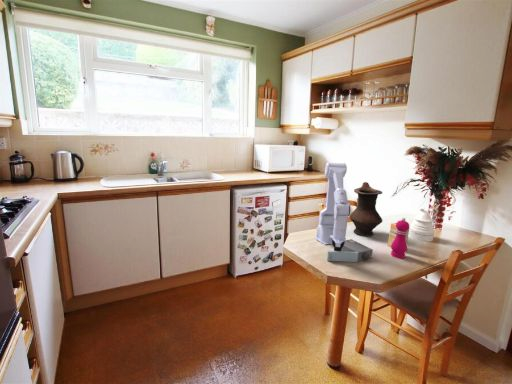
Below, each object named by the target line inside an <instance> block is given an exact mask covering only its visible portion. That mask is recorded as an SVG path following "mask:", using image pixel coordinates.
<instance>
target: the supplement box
mask: <svg viewBox="0 0 512 384" xmlns="http://www.w3.org/2000/svg"><path fill="white" fill-rule="evenodd" d="M396 223H397V222H391V224H390V229H389V234H388V241H387V247H390V248H391V245H392V242H393V241H394V240H395V238H396V234H397V233H396V229H397V228H396ZM409 230H410V227H409V229H408V230H407V234H406V237H405V240H406V244H407V245H408V238H409Z"/></svg>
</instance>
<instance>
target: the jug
mask: <svg viewBox="0 0 512 384" xmlns="http://www.w3.org/2000/svg"><path fill="white" fill-rule="evenodd" d="M353 192H354V193H355V194H357V206H356V207H355V209H354V210H353V211H352V212H350V215H349V216H348V218H349V220H351V222H352V224H353V225H354V226H355V229H353V233H354V234H355V235H357V236H363V237H370V236H373V235H374V231H373V230H374V229H375V228H377V227H378V226H379V225H380V224H382V223H383V219H382V217H381V215H380V214H379V212H378V211H377V209H376V206H377V199H378V197H379V195H382V194H383V191H382V190H379V189H375V188H373V187H372V186H370V184H369V182H367V181H365V182H363V183H362V185H361V186H360V187H357V188H354V189H353Z"/></svg>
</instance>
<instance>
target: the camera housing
mask: <svg viewBox="0 0 512 384" xmlns="http://www.w3.org/2000/svg"><path fill="white" fill-rule="evenodd" d="M341 251H345V252H358V259H357V262H361V261H365V260H368V259H372V257H373V249H372V248H371V247H369V246H366V245H364V244H363V243H360V242H358V241H356V240H354V239H346V240H345V244H344V246H343V247H342V249H341Z"/></svg>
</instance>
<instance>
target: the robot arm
mask: <svg viewBox="0 0 512 384" xmlns="http://www.w3.org/2000/svg"><path fill="white" fill-rule="evenodd" d="M347 167H348V166H347V164H346V163H345V162H343V163H341V162H326V164H325V167H324V177H325V178H326V179H327V186H326V187H327V188H326V201H325V208H323V209H321V210H320V211H319V214H318V215H319V216H318V226H317V227H316V236H315V238H314V239H315V240H316V241H318V242H320V243H322V244H323V245H332V247H333V251H341V249H342V247H343V246H344V244H345V240H347V238H346V236H347V235H346V234H347V227H348V226H347V225H348V219H349V216H350V215H351V213H352V212H351V210H352V208H351V204H350V201H348V195H347V191H346V189H344V178H345V176H346V174H347V170H348V169H347Z"/></svg>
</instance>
